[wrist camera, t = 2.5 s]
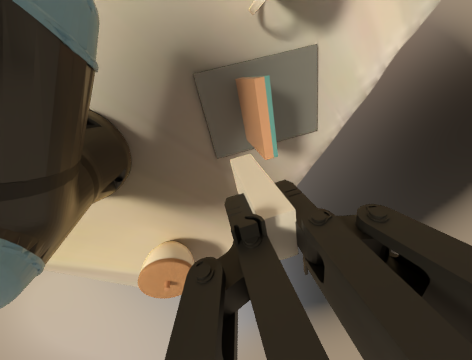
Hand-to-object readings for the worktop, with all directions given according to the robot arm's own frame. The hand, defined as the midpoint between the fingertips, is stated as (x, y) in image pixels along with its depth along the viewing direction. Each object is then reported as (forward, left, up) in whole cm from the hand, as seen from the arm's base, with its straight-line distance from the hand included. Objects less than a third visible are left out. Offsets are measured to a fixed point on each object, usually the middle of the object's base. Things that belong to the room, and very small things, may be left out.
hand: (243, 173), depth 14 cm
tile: (+6, 0, -21) cm, 22 cm away
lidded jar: (-17, -26, -22) cm, 38 cm away
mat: (+9, 0, -22) cm, 23 cm away
